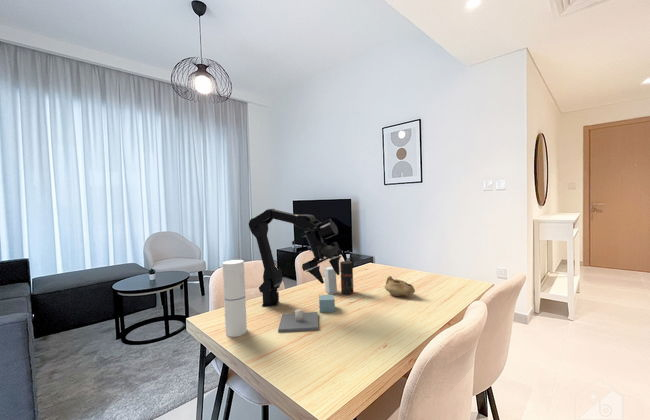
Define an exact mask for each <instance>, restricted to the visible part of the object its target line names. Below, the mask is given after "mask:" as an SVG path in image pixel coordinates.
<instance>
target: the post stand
mask: <svg viewBox="0 0 650 420" xmlns="http://www.w3.org/2000/svg"><path fill="white" fill-rule="evenodd" d="M303 311H304V310H303V309H301V308H299V309H297V308H296V309H295V310H294V312H291V313H290V312H289V313H282V314H281V318H280V321H279V325H278V328H277V331H278V333H289V332H306V331H307V332H308V331H319V317H318V315H319V314H318V311H310V312H309V311H307V312H306V311H305V312H303Z"/></svg>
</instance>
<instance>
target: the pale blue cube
mask: <svg viewBox="0 0 650 420" xmlns="http://www.w3.org/2000/svg"><path fill="white" fill-rule="evenodd" d="M334 295H335V294H320V295H318V300H319V301H318V303H319V306H318V307H319V313H334V312H336V303H335V296H334Z"/></svg>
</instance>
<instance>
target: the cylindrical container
mask: <svg viewBox="0 0 650 420" xmlns="http://www.w3.org/2000/svg"><path fill="white" fill-rule="evenodd" d="M221 265H222V278H223V280H222V281H223V282H222V283H223V285H222V286H223V303H224V322H225V323H224V324H225V326H224V328H225V336H227V337H231V338H233V337H234V338H235V337H240V336H243V335H244V334H246V333H247V331H248V329H247V328H248V326H247V325H248V324H247V306H246V305H247V304H246V303H247V302H246V281H245V280H246V279H245V261H244V260H243V259H230V260H225V261H223V262H221Z"/></svg>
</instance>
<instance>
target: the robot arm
mask: <svg viewBox="0 0 650 420" xmlns="http://www.w3.org/2000/svg"><path fill="white" fill-rule="evenodd" d="M273 220H277V221H281V222H285V223H290V224H292V225H294V226H295V227H297V228H300V229H302V233H301V235H300V238H304V237H305V238H306V240H307V243H308V244H309V247H310V248H309V249H308V251H309V252H312V256H313V258H312V260H308V261H307V262H304V263H302V266H301V269H302V271H303V272H305V273H309V274H310V275H312V276H313V277H315V279H317V281H318V282H320V283H321V284H322V285H323V284H325V280H324V278H323V276H322V272H321V271H320V268H321V266H320V265H319V264H320V263H323V262H326V261H327V260H328V262H329V264H330V267H333V269H334V271H335V273H336V276H341V272H340V259H341V258H342V255H344V253H343V250H342V249H341V248H340V245H339V243H338V242H336V241H334V242H332V243H331V244H330V245H328V244H327V242H324V240H327V239H329V238H332V237H334V236H336V235H338V234H339V229H338V226H337V224H336V223H334V221H332V218H329V219H326V220H325V221H323V222H321V221H319V220H318V219H316V217H315V215H313V214H298V213H297V214H296V213H291V212H287V211H283V210H279V209H275V208H268V209H266V210H264V211H263V212H261V213H260V214H258V215H256V216H255V217H252V218H251V219H250V220H249V222H248V228H249V230H250V232H251V234H252V235H253V236H254V238H255V239H256V242H257V246H258V249H259V253H260V257H261V261H262V265H263V275H262V280H263V282H262V284H260V286H259V287H258V290H259V293H262V304H261V306H262V307H270V306H272V307H274V306H275V307H276V306H278V303H279V302H280V293H279V291H278V289H279V288H280V287H281V285H282V283H283V278H284V275H283V273H282V269H281V268H278V267H277V266H276V264H275V260H274V256H273V253H272V249H271V245H270V242H269V237H268V232H269V224H270V223H271V222H272V221H273Z"/></svg>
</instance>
